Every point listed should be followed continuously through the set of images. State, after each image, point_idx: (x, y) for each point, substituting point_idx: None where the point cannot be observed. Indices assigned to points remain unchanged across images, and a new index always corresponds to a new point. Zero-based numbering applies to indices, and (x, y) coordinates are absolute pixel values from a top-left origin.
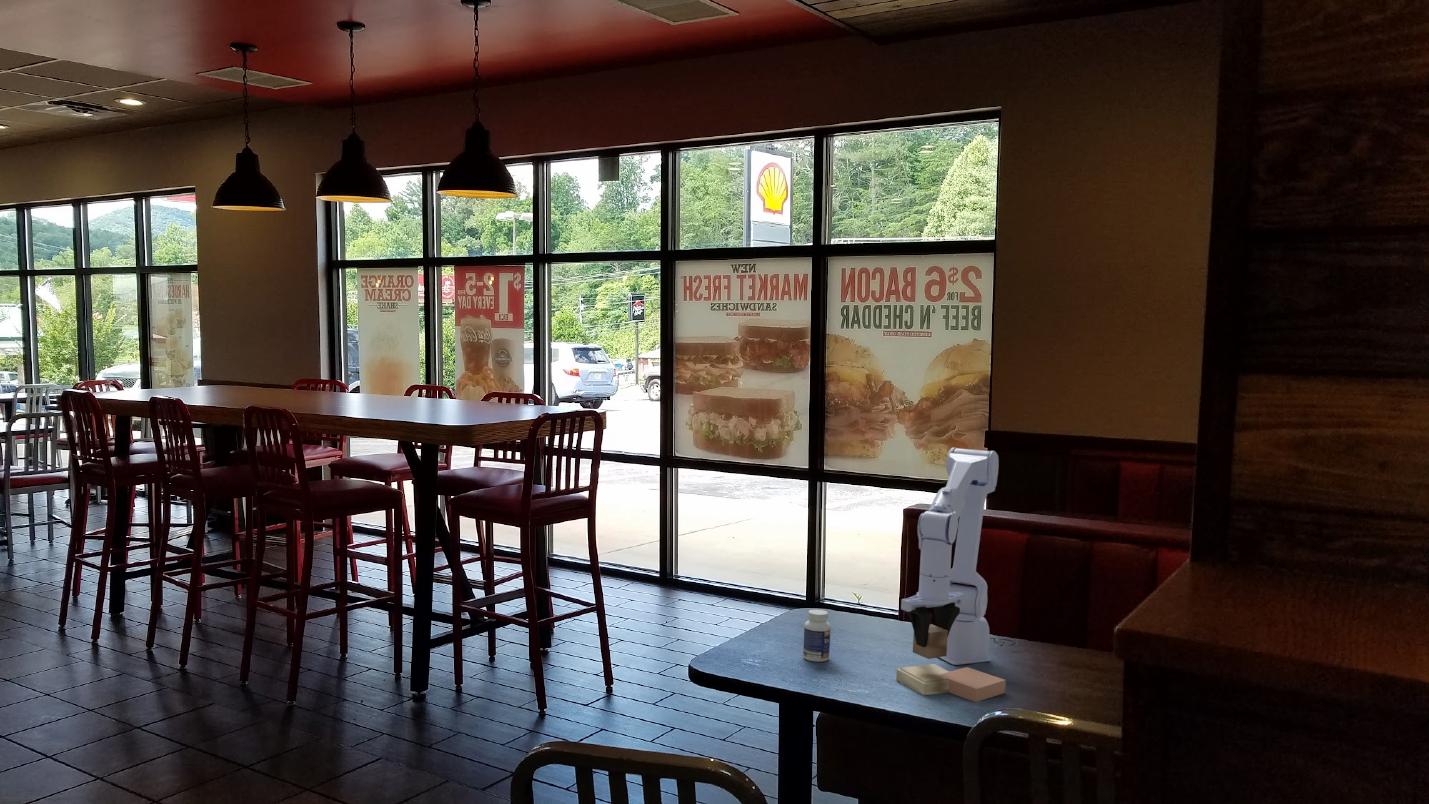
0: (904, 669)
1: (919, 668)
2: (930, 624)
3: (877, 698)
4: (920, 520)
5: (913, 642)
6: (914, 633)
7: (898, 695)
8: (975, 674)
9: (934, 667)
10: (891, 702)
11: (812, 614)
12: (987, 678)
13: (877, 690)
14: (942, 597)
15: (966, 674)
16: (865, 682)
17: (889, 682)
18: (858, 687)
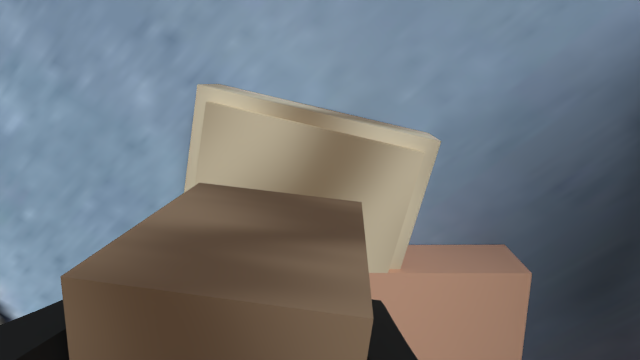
0: (206, 132)
1: (291, 162)
2: (350, 319)
3: (12, 198)
4: None
5: (164, 210)
6: (53, 306)
7: (106, 219)
8: (462, 356)
9: (376, 192)
10: (38, 252)
11: None
12: None
13: (61, 136)
14: None
15: (425, 335)
16: (69, 32)
17: (170, 90)
18: (5, 66)
